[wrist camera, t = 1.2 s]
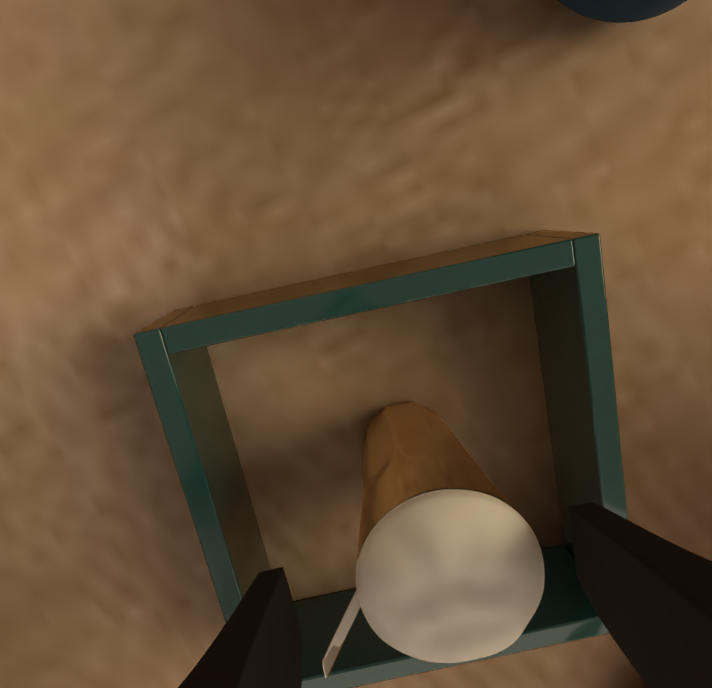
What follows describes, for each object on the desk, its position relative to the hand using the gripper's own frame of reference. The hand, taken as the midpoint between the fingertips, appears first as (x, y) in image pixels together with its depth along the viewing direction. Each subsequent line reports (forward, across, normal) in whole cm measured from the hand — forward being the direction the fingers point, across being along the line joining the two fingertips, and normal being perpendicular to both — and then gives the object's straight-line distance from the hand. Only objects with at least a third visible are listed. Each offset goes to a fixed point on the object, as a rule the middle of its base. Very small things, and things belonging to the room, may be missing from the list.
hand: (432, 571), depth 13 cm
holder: (+8, 0, 0) cm, 8 cm away
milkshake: (+8, 0, 0) cm, 8 cm away
